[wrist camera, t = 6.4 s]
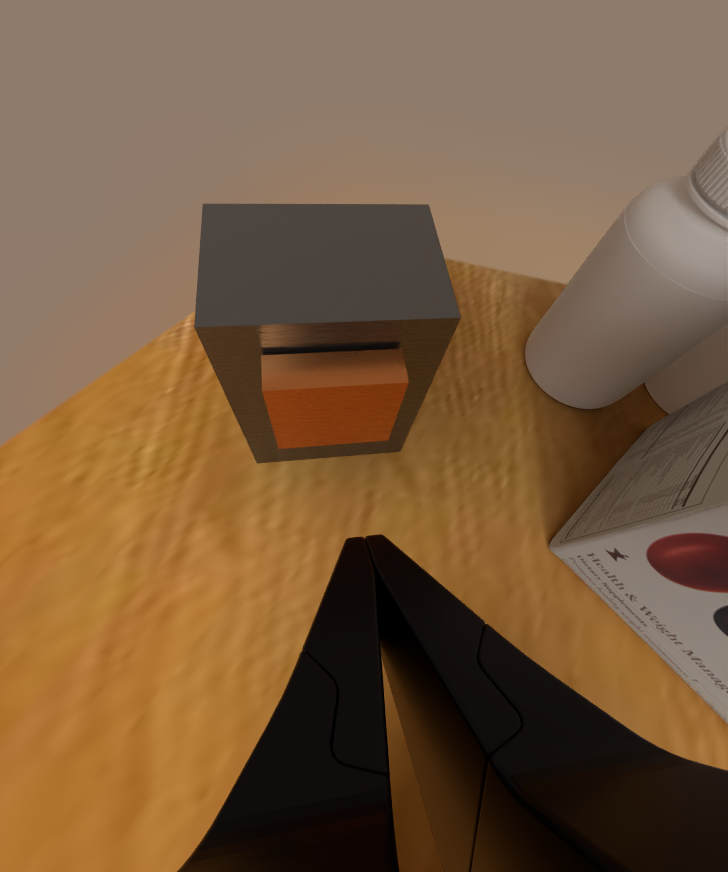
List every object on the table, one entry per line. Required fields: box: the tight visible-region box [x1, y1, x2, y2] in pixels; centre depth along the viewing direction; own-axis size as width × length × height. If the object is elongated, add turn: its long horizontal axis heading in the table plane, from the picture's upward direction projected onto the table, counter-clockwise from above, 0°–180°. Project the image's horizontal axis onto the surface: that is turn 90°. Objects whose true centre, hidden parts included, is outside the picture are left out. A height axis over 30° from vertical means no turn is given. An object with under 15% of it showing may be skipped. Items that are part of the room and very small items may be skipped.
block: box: [194, 204, 461, 463], centre depth 20 cm, size 6×9×12 cm, turn 97°
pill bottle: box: [525, 127, 728, 409], centre depth 22 cm, size 8×8×15 cm
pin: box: [261, 349, 409, 449], centre depth 18 cm, size 8×5×5 cm, turn 7°
